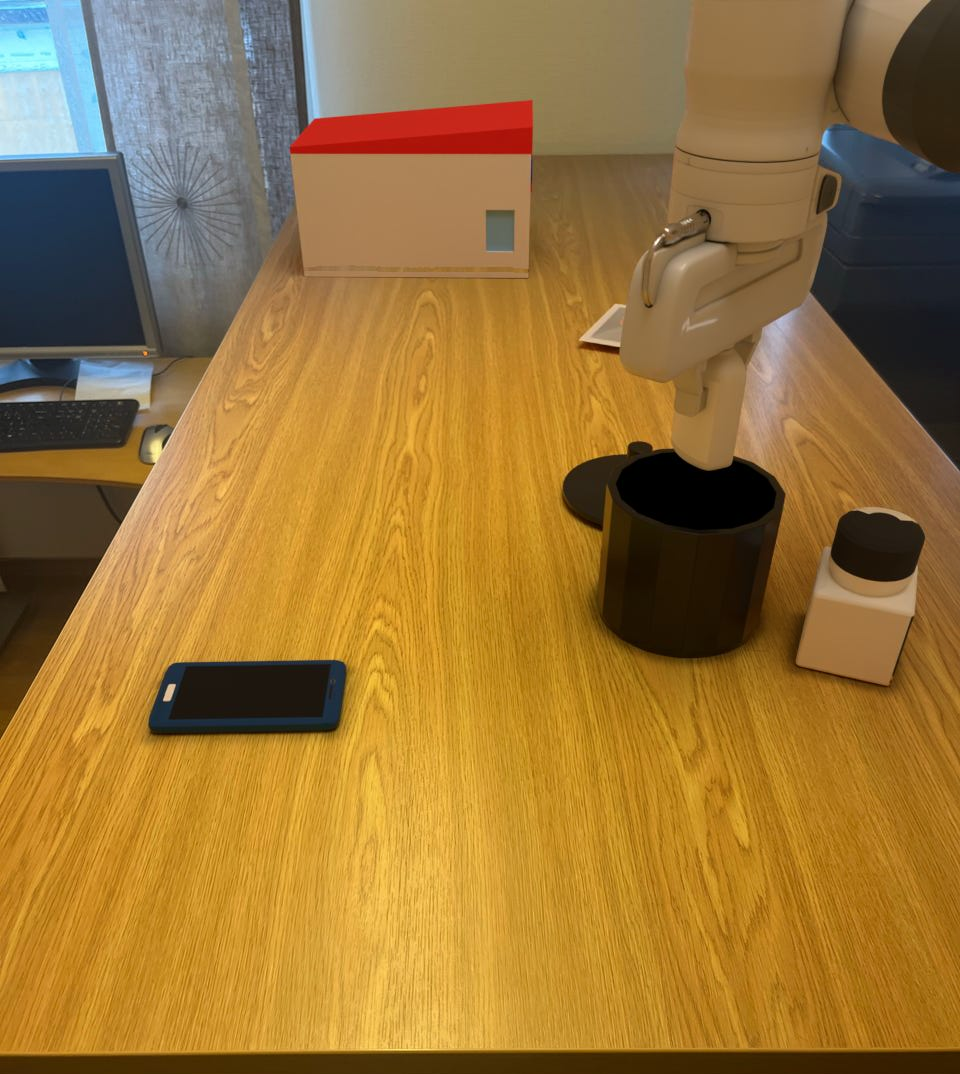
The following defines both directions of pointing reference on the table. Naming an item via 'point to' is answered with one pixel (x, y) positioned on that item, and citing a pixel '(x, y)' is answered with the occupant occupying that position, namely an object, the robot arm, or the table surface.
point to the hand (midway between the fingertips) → (709, 399)
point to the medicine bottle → (863, 596)
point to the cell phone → (249, 696)
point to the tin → (686, 553)
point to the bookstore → (416, 190)
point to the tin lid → (595, 482)
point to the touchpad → (607, 327)
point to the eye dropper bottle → (713, 415)
